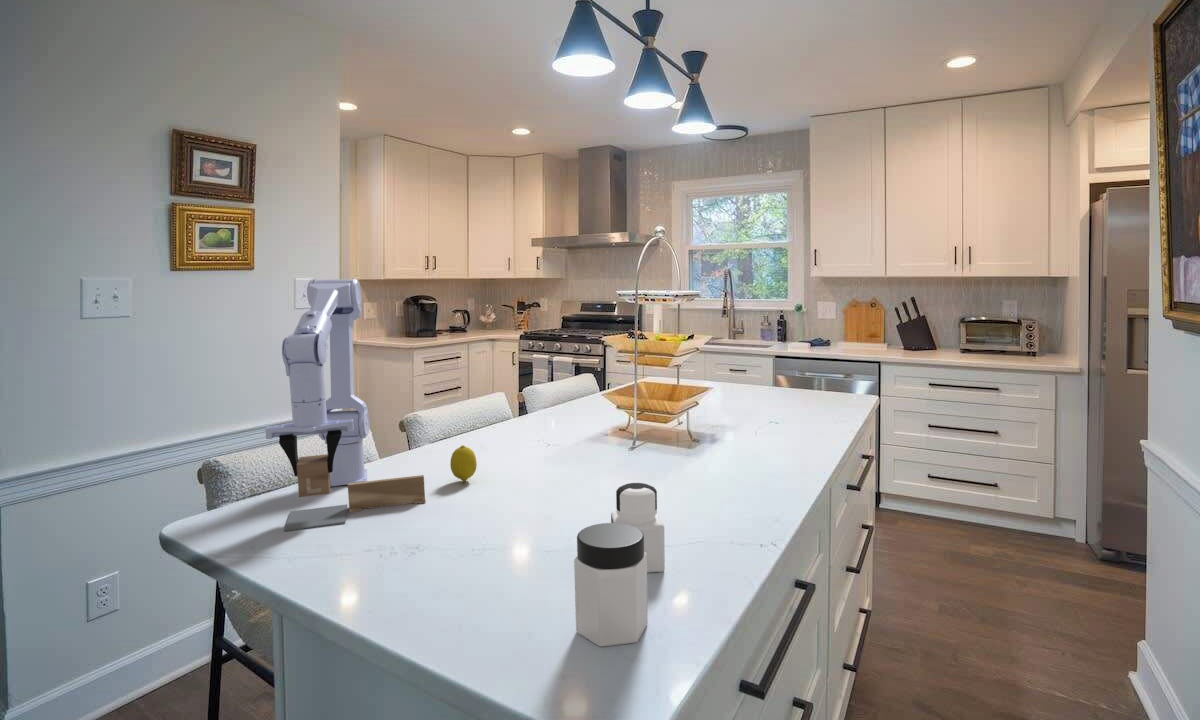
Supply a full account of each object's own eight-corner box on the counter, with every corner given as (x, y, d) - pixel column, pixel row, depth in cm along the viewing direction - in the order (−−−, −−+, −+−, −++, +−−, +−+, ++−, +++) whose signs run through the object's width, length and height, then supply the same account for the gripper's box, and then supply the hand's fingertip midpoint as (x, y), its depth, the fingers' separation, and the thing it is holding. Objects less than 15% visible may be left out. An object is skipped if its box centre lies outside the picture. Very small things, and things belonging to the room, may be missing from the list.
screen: (349, 507, 126) (348, 482, 125) (424, 497, 130) (423, 473, 130) (349, 512, 123) (347, 486, 122) (425, 502, 127) (424, 477, 127)
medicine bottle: (611, 554, 101) (610, 480, 100) (656, 552, 102) (656, 478, 100) (616, 575, 94) (615, 495, 93) (665, 572, 95) (664, 493, 93)
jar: (639, 608, 85) (638, 519, 83) (656, 641, 77) (655, 544, 75) (571, 615, 83) (568, 525, 82) (581, 650, 75) (578, 551, 74)
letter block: (301, 488, 121) (299, 457, 120) (330, 484, 123) (328, 454, 122) (299, 497, 116) (296, 465, 115) (329, 494, 118) (326, 462, 117)
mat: (290, 512, 123) (290, 511, 123) (347, 505, 126) (347, 504, 126) (284, 531, 114) (283, 529, 114) (345, 523, 117) (345, 521, 117)
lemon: (471, 486, 137) (469, 449, 136) (447, 484, 138) (445, 448, 138) (481, 478, 143) (479, 442, 142) (457, 477, 144) (456, 442, 143)
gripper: (260, 407, 111) (266, 483, 113) (350, 400, 116) (355, 474, 118) (266, 400, 118) (272, 472, 120) (351, 394, 123) (356, 464, 124)
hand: (313, 472), depth 119 cm, fingers closed on letter block, 5 cm apart
